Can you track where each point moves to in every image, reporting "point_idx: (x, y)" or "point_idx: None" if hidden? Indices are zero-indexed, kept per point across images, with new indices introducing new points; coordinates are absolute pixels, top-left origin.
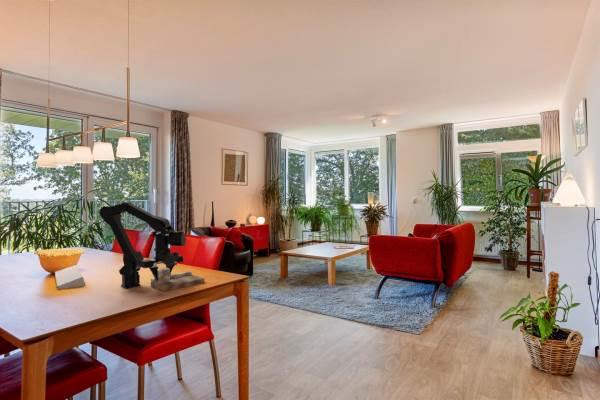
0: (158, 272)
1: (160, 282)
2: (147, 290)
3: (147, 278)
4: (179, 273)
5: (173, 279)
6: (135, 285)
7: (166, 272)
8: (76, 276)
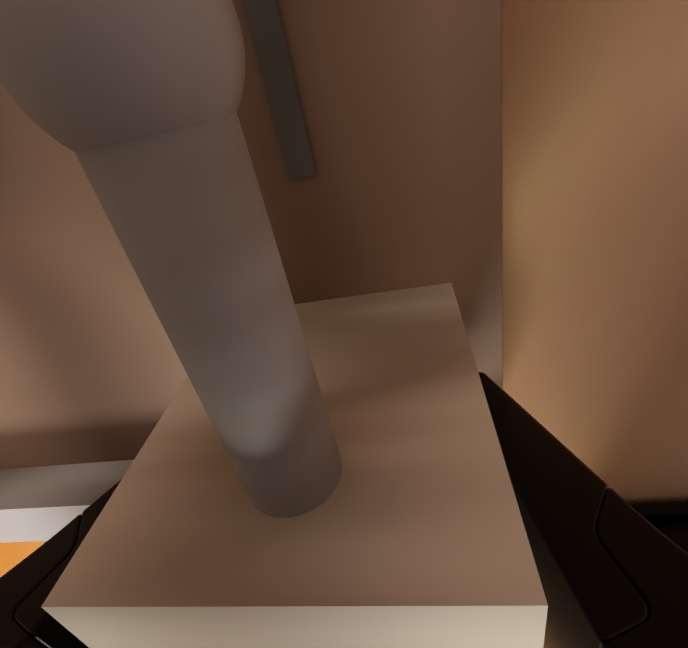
0: (519, 538)
1: (424, 299)
2: (656, 245)
3: None
4: (28, 529)
5: (150, 403)
6: (645, 518)
7: (230, 364)
8: None
